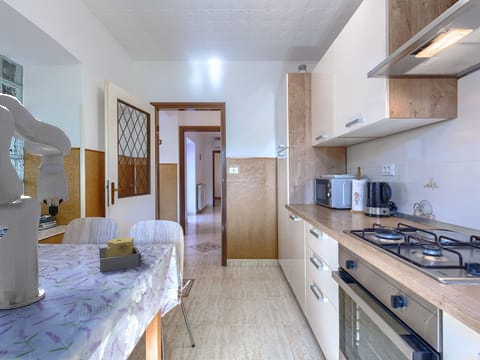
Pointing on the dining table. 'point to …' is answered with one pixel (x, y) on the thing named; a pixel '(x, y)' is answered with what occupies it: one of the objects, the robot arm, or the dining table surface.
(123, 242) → the cheese
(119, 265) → the bin
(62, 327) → the dining table surface
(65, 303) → the dining table surface
